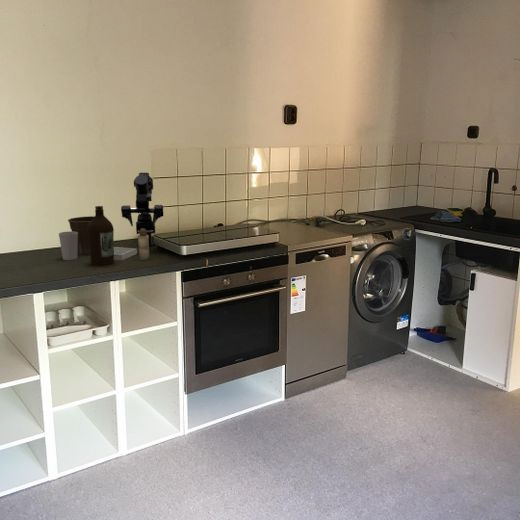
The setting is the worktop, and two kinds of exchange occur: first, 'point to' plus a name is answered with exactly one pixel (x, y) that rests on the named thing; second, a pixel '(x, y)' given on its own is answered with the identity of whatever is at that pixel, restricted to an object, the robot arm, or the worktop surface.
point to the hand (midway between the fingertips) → (142, 225)
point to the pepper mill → (143, 245)
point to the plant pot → (81, 232)
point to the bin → (124, 253)
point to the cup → (69, 245)
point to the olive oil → (101, 239)
